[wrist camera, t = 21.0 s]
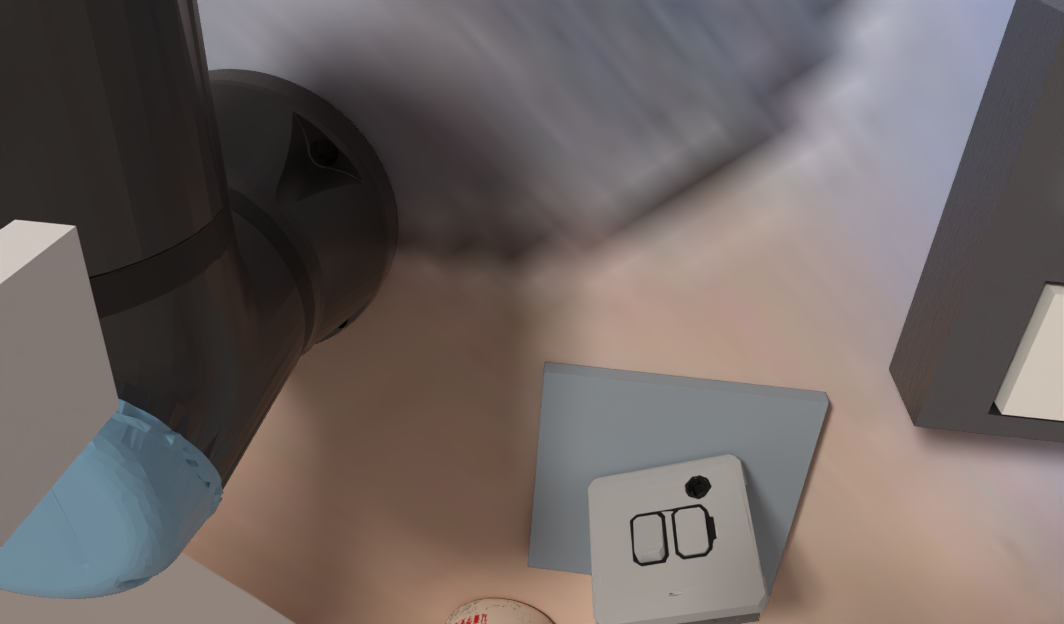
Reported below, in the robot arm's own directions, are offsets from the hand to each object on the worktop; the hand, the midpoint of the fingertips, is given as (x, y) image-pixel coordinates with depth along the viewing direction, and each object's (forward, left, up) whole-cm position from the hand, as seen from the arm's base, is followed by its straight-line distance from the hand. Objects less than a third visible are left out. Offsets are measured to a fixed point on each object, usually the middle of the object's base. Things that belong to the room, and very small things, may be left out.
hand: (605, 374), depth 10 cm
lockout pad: (+6, -30, -32) cm, 44 cm away
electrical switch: (+7, -30, -31) cm, 44 cm away
